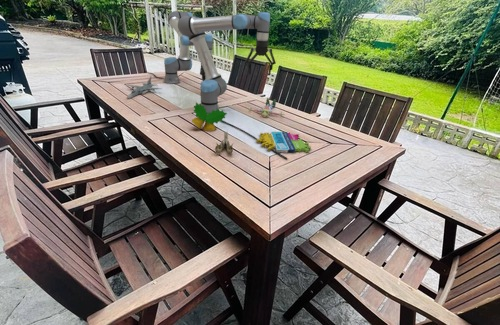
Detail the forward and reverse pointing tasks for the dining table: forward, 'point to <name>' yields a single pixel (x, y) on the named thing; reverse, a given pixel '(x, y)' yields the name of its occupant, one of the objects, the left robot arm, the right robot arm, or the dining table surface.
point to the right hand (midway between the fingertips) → (259, 74)
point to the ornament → (207, 117)
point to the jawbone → (224, 145)
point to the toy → (267, 109)
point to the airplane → (142, 88)
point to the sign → (283, 142)
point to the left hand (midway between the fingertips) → (208, 82)
